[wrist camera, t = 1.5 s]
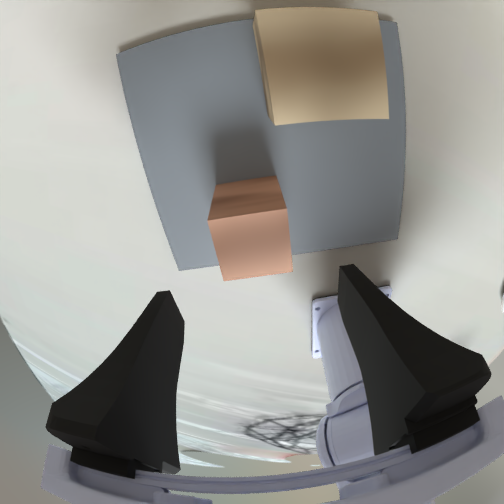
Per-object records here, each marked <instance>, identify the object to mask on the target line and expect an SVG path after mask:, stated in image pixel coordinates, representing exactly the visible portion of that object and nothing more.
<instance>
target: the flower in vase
mask: <svg viewBox="0 0 504 504" xmlns="http://www.w3.org/2000/svg"><path fill="white" fill-rule="evenodd" d="M501 308H502V312H503V313H504V294H503V297H502V301H501Z"/></svg>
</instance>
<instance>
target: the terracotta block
mask: <svg viewBox="0 0 504 504" xmlns="http://www.w3.org/2000/svg"><path fill="white" fill-rule="evenodd" d="M207 222H208V225H209V229H210V233H211V237H212V240H213V244H214V248H215V251H216V255H217V258H218V262H219V266H220V269H221V273H222V276H223V280H224V281H229V280H237V279H244V278H251V277H258V276H266V275H273V274H280V273H287V272H293V266H292V255H291V244H290V233H289V223H288V214H287V207H286V204H285V201H284V198H283V195H282V191H281V188H280V185H279V182H278V179H277V176H268V177H262V178H255V179H248V180H242V181H236V182H230V183H224V184H218V185H216V186H215V190H214V194H213V198H212V203H211V207H210V211H209V215H208V220H207Z"/></svg>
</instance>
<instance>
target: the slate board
mask: <svg viewBox="0 0 504 504" xmlns="http://www.w3.org/2000/svg"><path fill="white" fill-rule="evenodd" d="M253 21H254V19H247V20H239V21H233V22H227V23H221V24H216V25H211V26H206V27H201V28H197V29H193V30H188V31H184V32H181V33H177V34H173V35H170V36H166V37H163V38H160V39H157V40H153V41H150V42H147V43H145V44H142V45H139V46H136V47H133V48H131V49H128V50H125V51H123V52H120V53H118V54H116V57H117V62H118V67H119V72H120V76H121V81H122V86H123V90H124V94H125V99H126V103H127V107H128V111H129V115H130V119H131V123H132V127H133V131H134V135H135V138H136V142H137V145H138V149H139V153H140V156H141V160H142V163H143V166H144V170H145V173H146V176H147V180H148V183H149V186H150V189H151V192H152V195H153V199H154V202H155V205H156V208H157V211H158V214H159V217H160V220H161V222H162V225H163V228H164V231H165V234H166V237H167V239H168V242H169V245H170V248H171V250H172V253H173V256H174V259H175V261H176V264H177V266H178V269H179V271H182V270H189V269H197V268H204V267H211V266H218V265H219V262H218V258H217V255H216V251H215V248H214V244H213V240H212V237H211V233H210V229H209V225H208V222H207V220H208V215H209V211H210V207H211V203H212V198H213V194H214V190H215V186H216V185H218V184H224V183H230V182H236V181H242V180H248V179H255V178H262V177H268V176H277V179H278V182H279V185H280V188H281V191H282V195H283V198H284V201H285V204H286V207H287V214H288V223H289V233H290V244H291V255H296V254H302V253H309V252H316V251H323V250H329V249H336V248H343V247H350V246H356V245H363V244H369V243H376V242H382V241H389V240H395V239H398V232H399V225H400V217H401V208H402V198H403V186H404V171H405V147H406V113H405V90H404V76H403V65H402V56H401V48H400V40H399V34H398V28H397V22H391V21H385V20H379V24H380V30H381V36H382V43H383V50H384V58H385V67H386V77H387V90H388V106H389V119H351V120H330V121H316V122H304V123H293V124H284V125H276V126H275V125H274V124H273V122H272V121H271V120H270V118H269V117H268V113H267V107H266V100H265V94H264V88H263V82H262V76H261V70H260V64H259V58H258V52H257V47H256V41H255V36H254V30H253Z"/></svg>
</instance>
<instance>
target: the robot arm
mask: <svg viewBox="0 0 504 504" xmlns="http://www.w3.org/2000/svg"><path fill="white" fill-rule="evenodd" d="M391 293H392V288H391V287H390V286H384V287H379V288H378V287H377V286H376V285H374V284H373V283H372V282H371V281H370V280H369V279H368V278H367V277H366V276H365V275H364V274H363V273H362V272H361V271H360V270H359V269H358V268H357V267H356V266H355V265H354V264H350V265H345V266H340V269H339V285H338V295H336V296H330V297H324V298H318V299H315V300H313V302H312V357H313V358H322V362H323V367H324V371H325V376H326V381H327V385H328V390H329V395H330V399H331V401H332V402H331V403H329V404H327V405H326V409H327V416H324V417H323V418H322V419H321V421H320V423H319V426H318V428H317V432H316V447H317V452H318V455H319V458H320V461H321V463H322V465H323V466H324V468H322V469H316V470H311V471H304V472H297V473H289V474H280V475H270V476H257V477H256V476H255V477H195V476H181V475H171V474H176V473H177V472H179V471H180V462H179V454H178V445H177V431H176V392H177V382H178V376H179V369H180V363H181V357H182V351H183V344H184V322H185V321H184V319H183V317H182V315H181V313H180V311H179V309H178V307H177V305H176V303H175V301H174V298H173V296H172V294H171V292H170V291H161V292H157V293H156V294H155V296H154V297H153V298H152V300H151V301H150V303H149V304H148V305H147V307H146V308H145V310H144V311H143V313H142V314H141V315H140V317H139V318H138V320H137V321H136V322H135V324H134V325H133V327H132V328H131V329H130V331H129V332H128V333H127V334H126V336H125V337H124V338H123V340H122V341H121V342H120V343H119V345H118V346H117V347H116V348H115V350H114V351H113V352H112V353H111V354H110V355H109V356H108V357H107V358H106V360H105V361H104V362H103V363H102V364H101V365H100V366H99V367H98V368H97V369H96V370H94V371H93V372H92V373H91V374H90V375H89V376H88V377H87V378H86V379H85V380H84V381H82V382H81V383H80V384H79V385H78V386H76V387H75V388H74V389H72V390H71V391H70V392H68V393H67V394H66V395H64V396H63V397H61V398H60V399H58V400H57V401H55V402H53V403H52V406H51V409H50V413H49V417H48V420H47V424H46V429H47V431H48V432H50V433H51V434H52V435H54V436H55V437H57V438H59V439H60V440H62V441H64V442H66V443H67V444H69V445H71V446H72V447H73V448H72V452H71V451H69V450H66V449H64V448H61V447H58V446H55V445H52V444H49V445H48V450H47V454H46V459H45V464H44V470H43V476H42V482H41V488H42V489H44V490H46V491H48V492H50V493H52V494H54V495H56V496H58V497H60V498H62V499H64V500H66V501H68V502H70V503H72V504H212V500H209V499H201V498H196V497H193V496H185V495H177V494H171V492H170V491H169V490H174V491H183V492H195V493H214V494H249V493H267V492H278V491H289V490H297V489H304V488H311V487H316V486H322V485H328V484H332V483H336V484H337V487H338V488H339V493H340V500H336V501H331V502H327V503H321V504H435V500H434V499H435V498H437V497H438V496H440V495H442V494H444V493H446V492H448V491H449V490H451V489H453V488H454V487H456V486H458V485H459V484H461V483H463V482H464V481H466V480H467V479H469V478H470V477H472V476H473V475H475V474H476V473H478V472H479V471H480V470H482V469H484V468H485V467H486V466H488V465H489V464H490V463H492V462H493V461H495V460H496V459H497V458H499V457H500V456H501V455H502V454H504V400H503V398H502V396H498V397H497V398H495V399H493V400H492V401H490V402H488V403H487V404H485V405H484V406H482V407H481V408H479V409H478V410H476V407H475V404H476V403H477V399H476V396H475V394H477V392H479V390H481V388H482V387H483V386H484V385H485V384H486V383H487V382H488V381H489V379H490V377H491V371H490V369H489V367H488V365H487V363H486V361H485V359H484V358H483V356H482V355H481V354H479V353H476V352H474V351H471V350H469V349H466V348H464V347H462V346H460V345H458V344H456V343H454V342H452V341H450V340H448V339H446V338H444V337H442V336H440V335H439V334H437V333H435V332H434V331H432V330H431V329H429V328H427V327H426V326H424V325H423V324H421V323H420V322H418V321H417V320H416V319H414V318H413V317H411V316H410V315H409V314H407V313H406V312H405V311H404V310H402V309H401V308H400V307H399V306H398V305H396V304H395V303H394V302H393V301H392V300H391V299H390V298H391ZM316 307H318V308H316ZM154 472H157V473H154ZM162 473H167V474H162Z"/></svg>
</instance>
